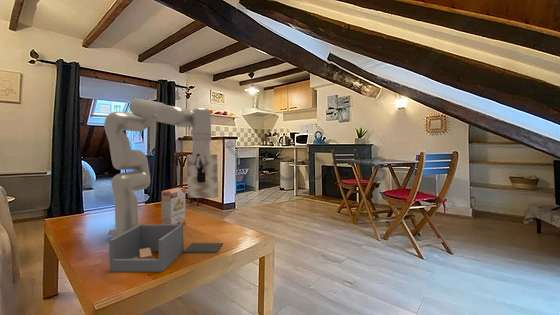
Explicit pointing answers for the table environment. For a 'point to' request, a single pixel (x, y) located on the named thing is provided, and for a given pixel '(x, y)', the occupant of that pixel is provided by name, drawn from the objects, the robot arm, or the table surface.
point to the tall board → (211, 178)
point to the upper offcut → (145, 253)
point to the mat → (203, 248)
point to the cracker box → (173, 206)
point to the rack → (146, 236)
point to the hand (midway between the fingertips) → (202, 181)
